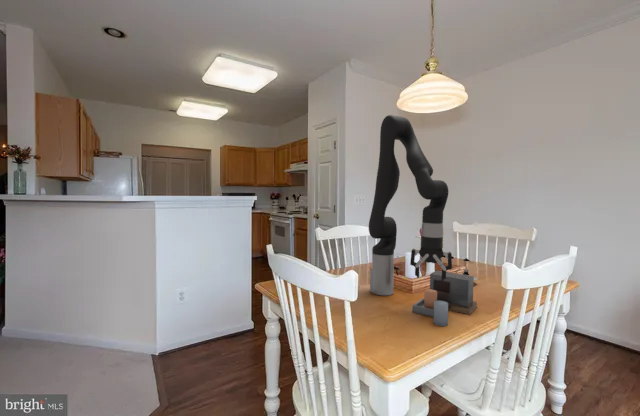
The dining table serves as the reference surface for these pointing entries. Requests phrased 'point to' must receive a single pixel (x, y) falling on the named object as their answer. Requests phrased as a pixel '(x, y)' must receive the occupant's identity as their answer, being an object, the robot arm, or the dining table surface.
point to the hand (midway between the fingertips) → (430, 278)
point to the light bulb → (467, 270)
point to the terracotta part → (430, 298)
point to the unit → (454, 291)
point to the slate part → (441, 313)
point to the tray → (422, 309)
